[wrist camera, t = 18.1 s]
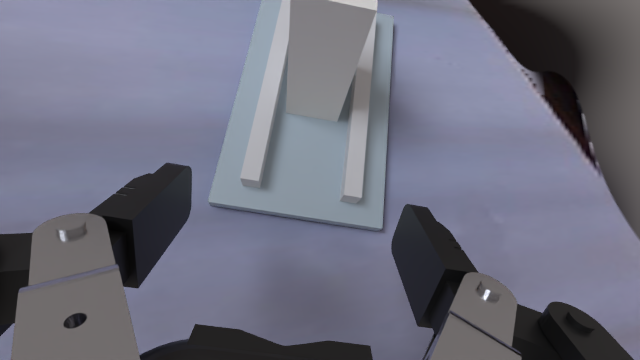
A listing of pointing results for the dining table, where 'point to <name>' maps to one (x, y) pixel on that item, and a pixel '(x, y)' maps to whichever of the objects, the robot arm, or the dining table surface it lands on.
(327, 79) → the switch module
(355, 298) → the dining table surface
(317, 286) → the dining table surface
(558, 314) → the robot arm
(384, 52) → the mounting board
